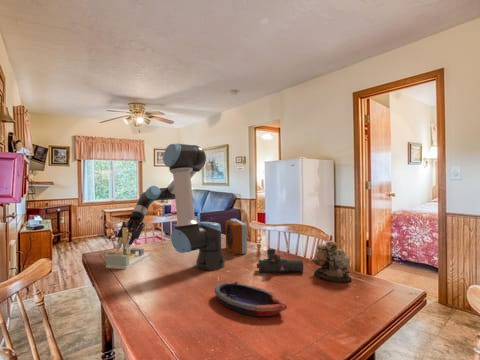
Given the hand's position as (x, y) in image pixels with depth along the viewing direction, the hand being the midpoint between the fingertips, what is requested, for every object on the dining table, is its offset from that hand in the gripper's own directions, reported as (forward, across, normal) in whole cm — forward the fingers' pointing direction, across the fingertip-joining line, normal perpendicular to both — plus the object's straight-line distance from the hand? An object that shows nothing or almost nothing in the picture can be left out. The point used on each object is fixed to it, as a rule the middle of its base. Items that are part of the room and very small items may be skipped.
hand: (121, 249), depth 146 cm
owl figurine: (+4, -108, -8) cm, 109 cm away
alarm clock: (-20, -55, -33) cm, 67 cm away
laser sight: (+2, -84, -11) cm, 85 cm away
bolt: (+2, 0, -8) cm, 8 cm away
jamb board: (+2, 0, -11) cm, 11 cm away
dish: (+29, -75, +16) cm, 82 cm away
